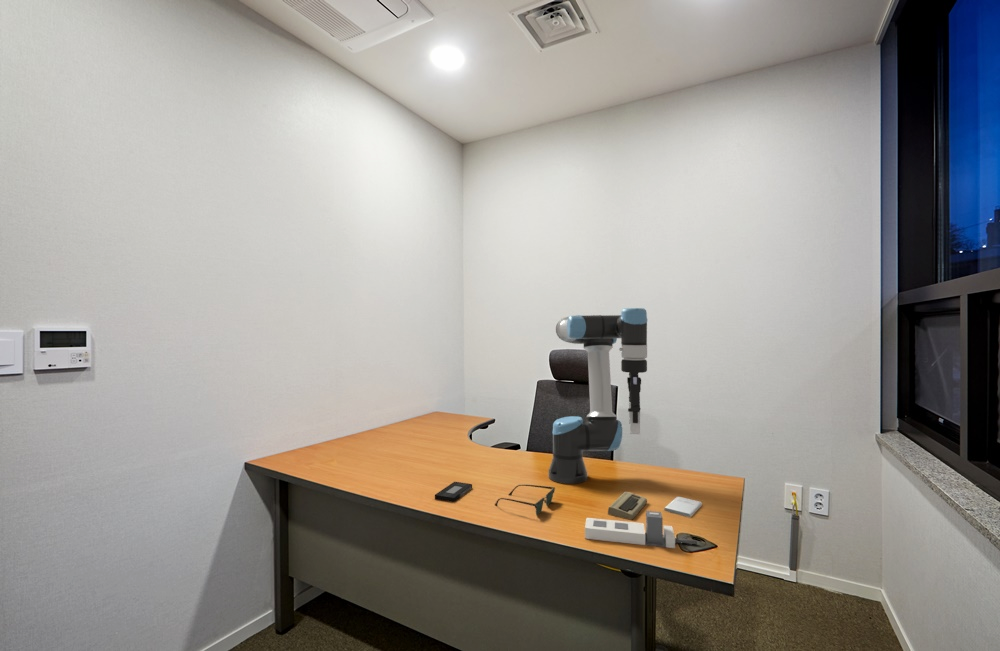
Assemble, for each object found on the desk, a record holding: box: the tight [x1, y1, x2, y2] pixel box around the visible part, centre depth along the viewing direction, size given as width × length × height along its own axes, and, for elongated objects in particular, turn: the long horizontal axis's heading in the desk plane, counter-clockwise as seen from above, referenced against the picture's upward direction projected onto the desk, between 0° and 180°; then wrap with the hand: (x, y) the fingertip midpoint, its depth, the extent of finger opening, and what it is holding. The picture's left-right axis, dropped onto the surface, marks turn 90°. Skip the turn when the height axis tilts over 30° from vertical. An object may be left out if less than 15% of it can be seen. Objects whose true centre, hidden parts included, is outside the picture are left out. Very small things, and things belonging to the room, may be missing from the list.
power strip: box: [584, 517, 698, 549], centre depth 129 cm, size 7×30×3 cm, turn 76°
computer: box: [607, 491, 648, 520], centre depth 150 cm, size 16×8×3 cm, turn 146°
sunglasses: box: [494, 484, 556, 516], centre depth 154 cm, size 16×17×5 cm
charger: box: [645, 510, 664, 543], centre depth 128 cm, size 4×4×7 cm
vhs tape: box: [434, 481, 473, 503], centre depth 164 cm, size 8×14×2 cm, turn 157°
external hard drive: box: [663, 496, 703, 518], centre depth 151 cm, size 2×8×12 cm
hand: (634, 428), depth 139 cm, fingers open, 13 cm apart
